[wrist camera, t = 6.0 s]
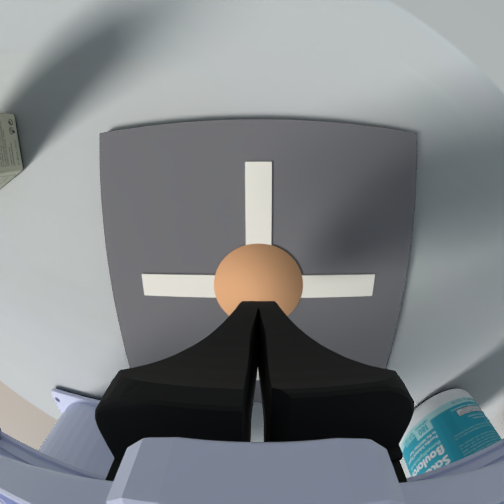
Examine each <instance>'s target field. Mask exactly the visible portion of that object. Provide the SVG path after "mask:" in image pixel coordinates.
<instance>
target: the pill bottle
mask: <svg viewBox="0 0 504 504" xmlns="http://www.w3.org/2000/svg"><path fill="white" fill-rule="evenodd" d="M500 440H502V439H501V438H500V436H499V435H498V433H497V432H496V430H495V429H494V427H493V426H492V424H491V423H490V421H489V420H488V419H487V417H486V416H485V414H484V413H483V411H482V410H481V409H480V407H479V406H478V404H477V403H476V402H475V400H474V399H473V398H472V396H471V395H470V394H469V393H468V392H467V391H465V390H463V389H450V390H447V391H444V392H441V393H439V394H437V395H435V396H433V397H431V398H430V399H428V400H426V401H425V402H424V403H422V404H421V405H419V406H418V407H417V408H416V409H415V410H414V413H413V416H412V419H411V421H410V423H409V426H408V428H407V430H406V431H405V433H404V435H403V437H402V439H401V441H400V443H399V446H400V448H401V451H402V453H403V457H404V459H405V462H406V464H407V467H408V469H409V472H410V474H411V477H413V476H416V475H419V474H423V473H426V472H429V471H431V470H434V469H437V468H440V467H443V466H445V465H448V464H450V463H453V462H455V461H458V460H460V459H463V458H465V457H467V456H470V455H472V454H474V453H476V452H478V451H480V450H483V449H485V448H487V447H489V446H491V445H493V444H495V443H497V442H498V441H500Z"/></svg>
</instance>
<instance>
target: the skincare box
mask: <svg viewBox="0 0 504 504" xmlns="http://www.w3.org/2000/svg"><path fill="white" fill-rule="evenodd" d="M22 170H23V165H22V160H21V154H20V148H19V142H18V136H17V129H16V123H15V116H14V114H5V113H0V189H1V188H2V187H3V186H4V185H6V184H7V183H8V182H9V181H10V180H12V179H13V178H14V177H15V176H16V175H17V174H19V173H20V172H21V171H22Z"/></svg>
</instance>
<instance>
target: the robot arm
mask: <svg viewBox="0 0 504 504" xmlns="http://www.w3.org/2000/svg"><path fill="white" fill-rule="evenodd" d="M257 371H258V372H259V381H260V389H261V397H262V406H263V416H264V442H250V439H251V416H252V407H253V400H254V393H255V386H256V378H257ZM51 394H52V396H53V398H54V400H55V402H56V404H57V406H58V408H59V410H60V412H61V414H62V415H61V417H60V418H59V420H58V421H57V423H56V424H55V426H54V427H53V429H52V430H51V432H50V433H49V435H48V436H47V438H46V439H45V441H44V442H43V444H42V446H41V447H40V449H39V450H36V449H34V448H32V447H29V446H28V445H26V444H24V443H22V442H20V441H18V440H16V439H14V438H12V437H10V436H9V435H7V434H5V433H3V432H2V431H1V429H0V504H504V439H502V440H500V441H498V442H497V443H495V444H493V445H491V446H489V447H487V448H485V449H483V450H480V451H478V452H476V453H474V454H472V455H470V456H467V457H465V458H463V459H460V460H458V461H455V462H453V463H450V464H448V465H445V466H443V467H440V468H437V469H434V470H431V471H429V472H426V473H423V474H419V475H416V476H413V477H410V478H406V477H405V474H404V471H403V469H402V466H401V464H400V461H399V460H401V459H402V457H403V453H402V451H401V448H400V446H399V443H400V441H401V439H402V437H403V435H404V433H405V431H406V430H407V428H408V426H409V423H410V421H411V419H412V416H413V413H414V401H413V399H412V397H411V396H410V394H409V392H408V390H407V388H406V386H405V384H404V383H403V381H402V380H401V378H400V377H399V376H398V374H397V373H396V371H392V370H388V369H383V368H379V367H374V366H370V365H366V364H363V363H360V362H357V361H355V360H352V359H349V358H347V357H344V356H342V355H340V354H338V353H336V352H334V351H332V350H330V349H328V348H326V347H324V346H322V345H321V344H319V343H318V342H316V341H315V340H313V339H312V338H310V337H309V336H308V335H306V334H305V333H304V332H303V331H302V330H301V329H299V328H298V327H297V326H296V325H295V324H294V323H293V322H292V321H291V320H290V319H289V318H288V316H287V315H286V314H285V313H284V312H283V310H282V309H281V308H280V307H279V305H278V304H277V303H276V302H275V301H242V302H240V303H239V305H238V306H237V307H236V309H235V310H234V311H233V312H232V313H231V314H230V316H229V317H228V318H227V319H226V320H225V321H224V322H223V323H222V324H221V325H220V326H219V327H218V328H217V329H215V330H214V331H213V332H212V333H211V334H210V335H208V336H207V337H206V338H204V339H203V340H201V341H200V342H198V343H197V344H195V345H193V346H191V347H189V348H187V349H185V350H183V351H181V352H179V353H177V354H175V355H173V356H170V357H168V358H165V359H163V360H160V361H157V362H154V363H150V364H147V365H142V366H138V367H134V368H129V369H124V370H120V371H119V372H118V374H117V375H116V376H115V378H114V379H113V380H112V382H111V384H110V385H109V387H108V389H107V390H106V392H105V394H104V395H103V397H102V399H101V400H96V399H92V398H88V397H84V396H80V395H76V394H73V393H69V392H65V391H62V390H59V389H55V388H53V389H52V391H51Z"/></svg>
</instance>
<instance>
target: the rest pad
mask: <svg viewBox="0 0 504 504" xmlns="http://www.w3.org/2000/svg"><path fill="white" fill-rule="evenodd" d="M416 167H417V136H416V133H413V132H407V131H401V130H395V129H389V128H382V127H374V126H366V125H357V124H348V123H337V122H324V121H308V120H283V119H235V120H210V121H194V122H181V123H170V124H160V125H152V126H143V127H136V128H129V129H122V130H116V131H110V132H104V133H100V182H101V200H102V213H103V224H104V234H105V243H106V251H107V258H108V265H109V272H110V278H111V284H112V290H113V296H114V301H115V306H116V311H117V316H118V321H119V325H120V330H121V334H122V338H123V343H124V347H125V351H126V355H127V358H128V362H129V366H130V368H134V367H138V366H142V365H147V364H150V363H154V362H157V361H160V360H163V359H165V358H168V357H170V356H173V355H175V354H177V353H179V352H181V351H183V350H185V349H187V348H189V347H191V346H193V345H195V344H197V343H198V342H200V341H201V340H203V339H204V338H206V337H207V336H208V335H210V334H211V333H212V332H213V331H214V330H215V329H217V328H218V327H219V326H220V325H221V324H222V323H223V322H224V321H225V320H226V319H227V318H228V317H229V316H230V314H231V313H232V312H233V311H234V310H235V309H236V307H237V306H238V305H239V303H240V302H242V301H275V302H276V303H277V304H278V305H279V307H280V308H281V309H282V310H283V312H284V313H285V314H286V315H287V316H288V318H289V319H290V320H291V321H292V322H293V323H294V324H295V325H296V326H297V327H298V328H299V329H301V330H302V331H303V332H304V333H305V334H306V335H308V336H309V337H310V338H312V339H313V340H315V341H316V342H318V343H319V344H321V345H322V346H324V347H326V348H328V349H330V350H332V351H334V352H336V353H338V354H340V355H342V356H344V357H347V358H349V359H352V360H355V361H357V362H360V363H363V364H366V365H370V366H374V367H379V368H383V369H386V366H387V362H388V358H389V355H390V351H391V347H392V343H393V339H394V335H395V331H396V327H397V322H398V318H399V313H400V308H401V303H402V298H403V293H404V288H405V282H406V276H407V270H408V263H409V256H410V248H411V240H412V231H413V221H414V209H415V193H416ZM253 402H262V397H261V389H260V381H259V372H258V371H257V378H256V386H255V393H254V400H253Z"/></svg>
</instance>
